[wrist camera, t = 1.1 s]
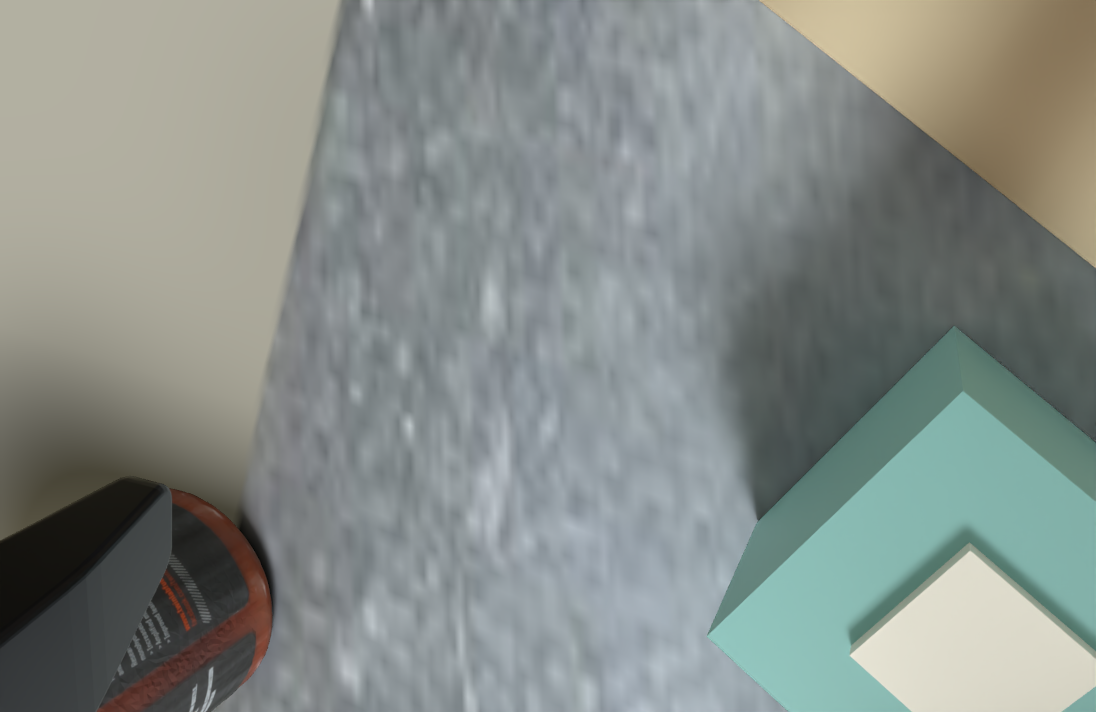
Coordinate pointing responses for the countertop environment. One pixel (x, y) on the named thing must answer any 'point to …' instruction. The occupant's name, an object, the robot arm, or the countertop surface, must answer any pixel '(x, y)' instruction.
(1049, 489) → the teal cube with pad
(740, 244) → the countertop surface
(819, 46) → the post board
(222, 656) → the supplement bottle
